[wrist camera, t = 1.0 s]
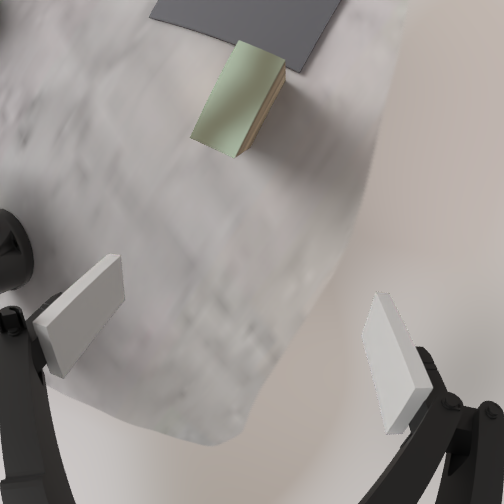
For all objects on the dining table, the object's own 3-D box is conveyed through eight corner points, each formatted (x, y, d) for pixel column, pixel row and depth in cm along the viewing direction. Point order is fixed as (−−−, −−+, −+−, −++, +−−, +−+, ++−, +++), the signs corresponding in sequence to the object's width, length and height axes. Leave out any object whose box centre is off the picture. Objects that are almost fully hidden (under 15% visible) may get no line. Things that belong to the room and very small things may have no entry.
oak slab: (219, 132, 35) (189, 137, 24) (253, 65, 32) (238, 40, 21) (250, 147, 35) (234, 158, 24) (285, 80, 32) (285, 59, 21)
